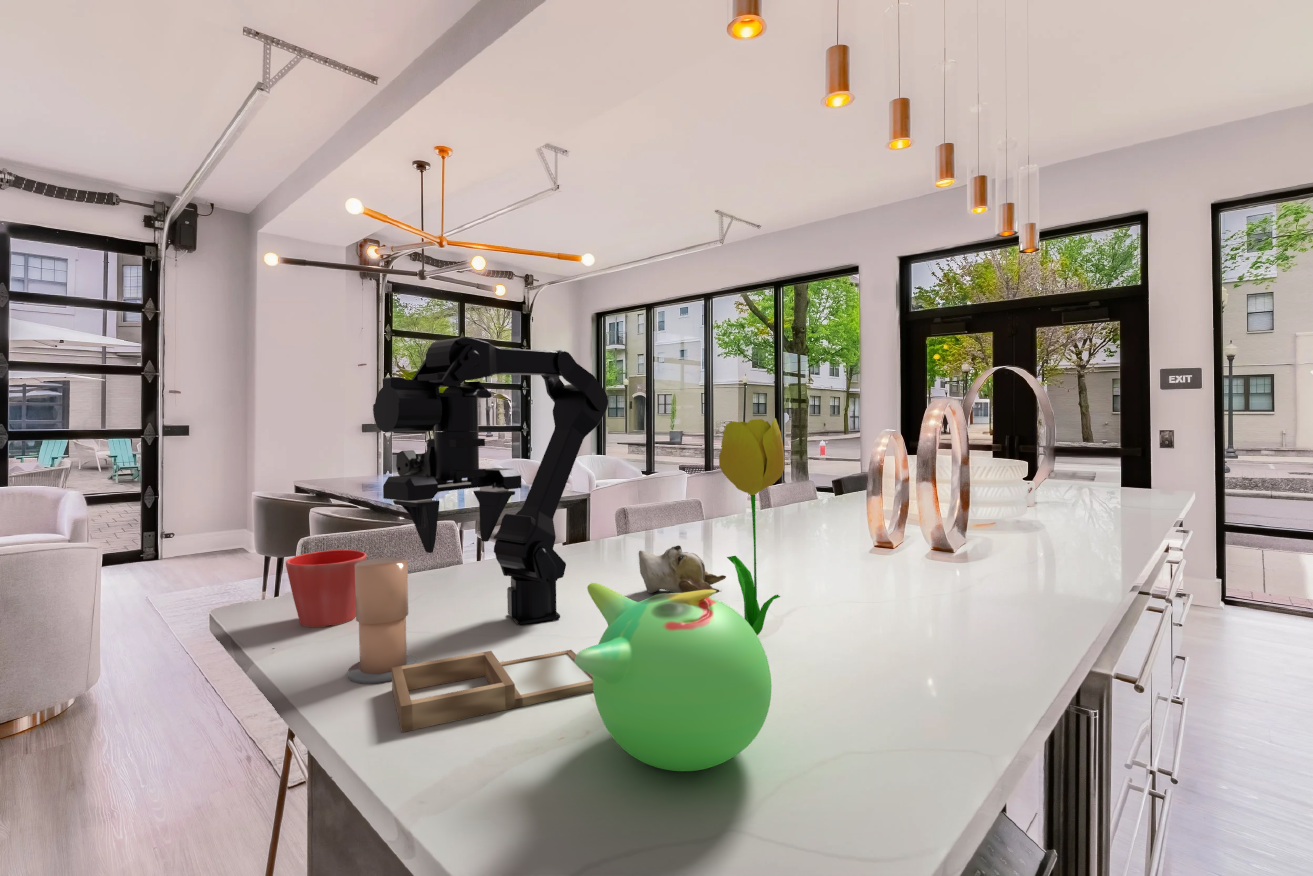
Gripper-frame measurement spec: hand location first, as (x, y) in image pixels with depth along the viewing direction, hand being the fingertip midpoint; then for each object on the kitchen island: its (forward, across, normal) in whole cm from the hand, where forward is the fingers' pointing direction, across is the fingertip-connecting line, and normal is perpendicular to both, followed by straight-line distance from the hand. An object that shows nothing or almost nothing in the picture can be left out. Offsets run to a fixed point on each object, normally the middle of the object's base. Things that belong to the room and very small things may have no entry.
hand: (458, 546), depth 86 cm
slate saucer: (+13, +12, 0) cm, 17 cm away
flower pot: (+13, +4, -25) cm, 29 cm away
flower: (+13, -21, +34) cm, 42 cm away
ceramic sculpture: (+13, -37, +12) cm, 41 cm away
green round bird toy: (+13, +8, +40) cm, 43 cm away
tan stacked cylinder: (+12, +12, 0) cm, 17 cm away
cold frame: (+13, +8, +16) cm, 22 cm away
